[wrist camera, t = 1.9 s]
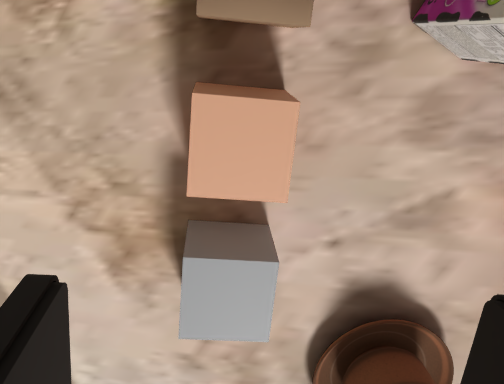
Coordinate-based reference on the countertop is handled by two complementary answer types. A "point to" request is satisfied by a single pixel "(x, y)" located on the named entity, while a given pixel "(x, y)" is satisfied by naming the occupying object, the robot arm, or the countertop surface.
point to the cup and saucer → (386, 356)
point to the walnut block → (258, 11)
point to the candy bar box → (466, 27)
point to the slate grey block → (228, 282)
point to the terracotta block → (241, 142)
